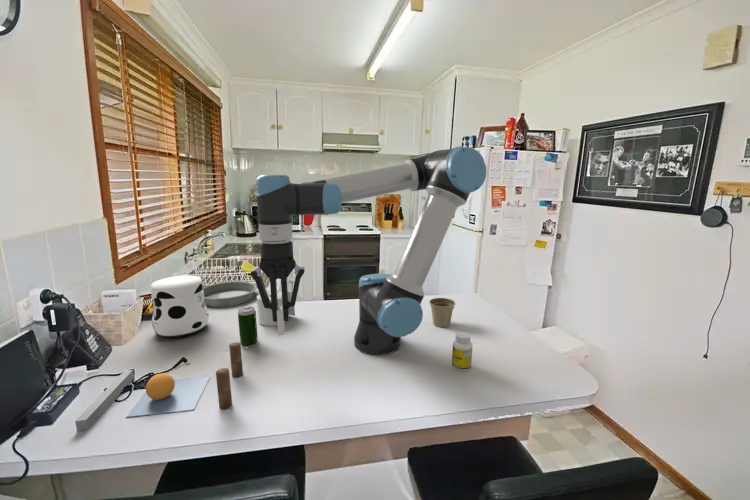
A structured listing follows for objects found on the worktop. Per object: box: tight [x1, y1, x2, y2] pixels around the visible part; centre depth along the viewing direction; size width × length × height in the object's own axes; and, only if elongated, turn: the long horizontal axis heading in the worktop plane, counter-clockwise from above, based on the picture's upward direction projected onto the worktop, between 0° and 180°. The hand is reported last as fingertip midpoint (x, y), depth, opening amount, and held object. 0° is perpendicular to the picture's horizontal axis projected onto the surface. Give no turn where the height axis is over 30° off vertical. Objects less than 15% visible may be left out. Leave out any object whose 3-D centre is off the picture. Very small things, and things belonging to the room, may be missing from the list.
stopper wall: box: [74, 369, 135, 432], centre depth 83 cm, size 2×20×2 cm, turn 10°
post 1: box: [215, 367, 233, 411], centre depth 80 cm, size 3×3×9 cm
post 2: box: [228, 341, 244, 379], centre depth 93 cm, size 3×3×9 cm
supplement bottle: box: [451, 331, 473, 372], centre depth 97 cm, size 5×5×10 cm
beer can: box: [237, 305, 259, 348], centre depth 111 cm, size 5×5×12 cm
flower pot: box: [428, 297, 456, 328], centre depth 126 cm, size 9×9×9 cm
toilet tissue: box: [256, 290, 296, 327], centre depth 130 cm, size 11×12×10 cm
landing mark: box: [125, 376, 211, 418], centre depth 85 cm, size 14×14×1 cm
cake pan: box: [203, 281, 258, 308], centre depth 155 cm, size 25×25×4 cm
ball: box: [145, 372, 175, 400], centre depth 84 cm, size 6×6×6 cm
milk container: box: [150, 275, 210, 338], centre depth 120 cm, size 17×17×18 cm
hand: (281, 332), depth 87 cm, fingers closed
